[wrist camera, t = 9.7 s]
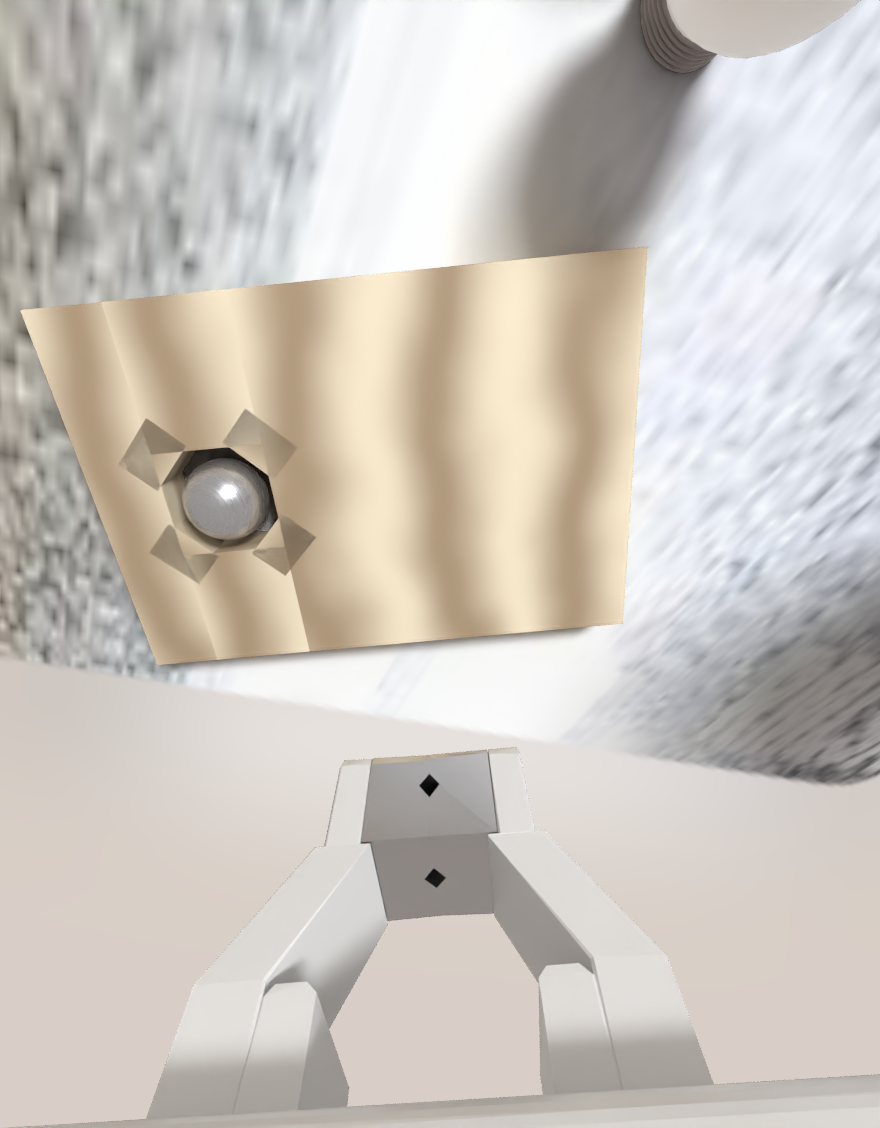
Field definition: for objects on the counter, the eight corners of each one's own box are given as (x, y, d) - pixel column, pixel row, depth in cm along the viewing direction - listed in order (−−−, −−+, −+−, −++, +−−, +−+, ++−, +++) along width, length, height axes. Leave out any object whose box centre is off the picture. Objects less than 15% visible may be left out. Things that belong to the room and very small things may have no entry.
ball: (275, 448, 27) (225, 472, 23) (291, 523, 28) (247, 555, 25) (208, 448, 28) (151, 471, 24) (227, 520, 30) (177, 550, 26)
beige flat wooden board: (626, 252, 24) (647, 246, 22) (608, 601, 32) (622, 623, 29) (58, 310, 24) (20, 310, 22) (176, 640, 32) (157, 665, 30)
